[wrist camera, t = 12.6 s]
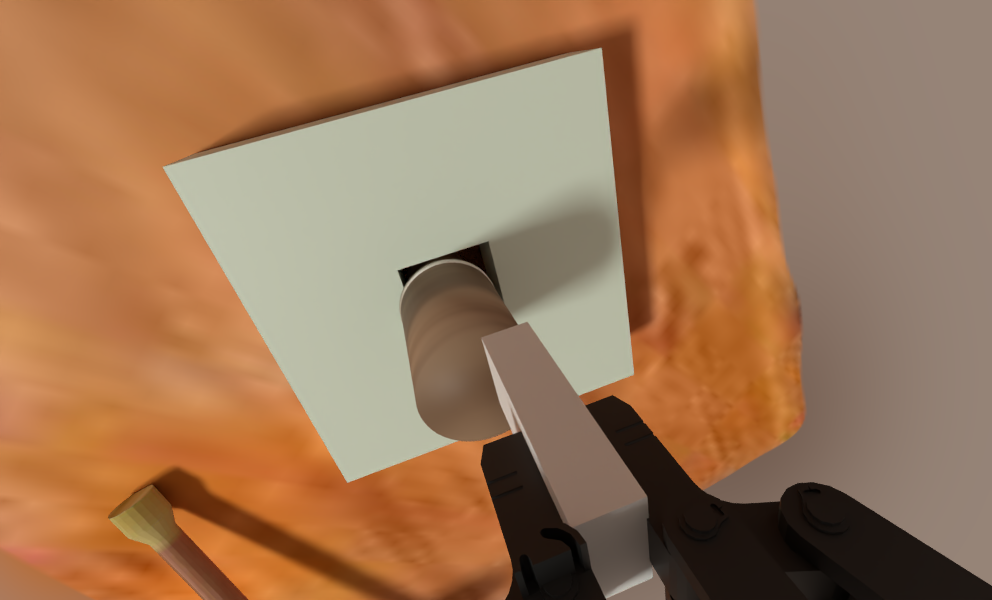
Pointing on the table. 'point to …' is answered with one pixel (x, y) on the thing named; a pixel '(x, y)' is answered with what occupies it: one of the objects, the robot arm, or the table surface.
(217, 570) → the hammer
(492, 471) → the robot arm
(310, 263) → the board
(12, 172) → the table surface
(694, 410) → the table surface
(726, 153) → the table surface
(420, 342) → the peg
